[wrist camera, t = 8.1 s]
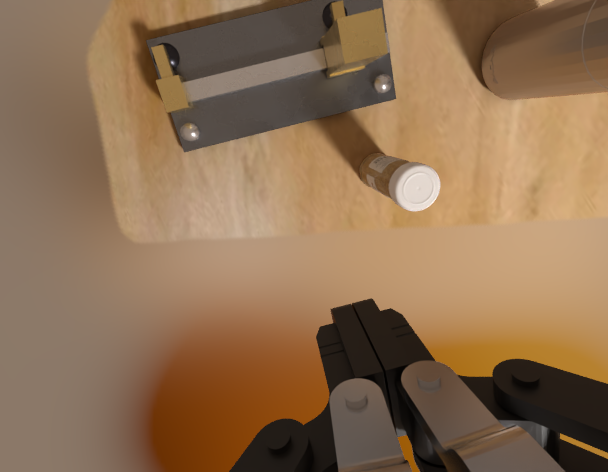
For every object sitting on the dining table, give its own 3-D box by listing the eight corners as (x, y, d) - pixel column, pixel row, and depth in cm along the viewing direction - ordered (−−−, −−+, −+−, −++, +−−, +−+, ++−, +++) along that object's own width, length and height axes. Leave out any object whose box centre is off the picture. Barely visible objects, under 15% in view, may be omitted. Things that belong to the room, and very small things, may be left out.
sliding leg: (349, 5, 38) (376, -31, 29) (360, 70, 40) (388, 55, 31) (314, 14, 38) (329, -19, 29) (327, 78, 40) (345, 66, 31)
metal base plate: (376, -13, 39) (382, -20, 37) (392, 99, 43) (398, 98, 41) (149, 42, 39) (143, 38, 37) (186, 151, 43) (182, 152, 41)
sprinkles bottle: (357, 187, 46) (392, 212, 34) (359, 151, 45) (397, 163, 32) (391, 187, 47) (438, 212, 34) (394, 152, 45) (445, 164, 33)
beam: (377, -1, 39) (386, -11, 36) (386, 60, 41) (395, 55, 38) (153, 53, 38) (144, 48, 35) (173, 113, 40) (166, 112, 37)
